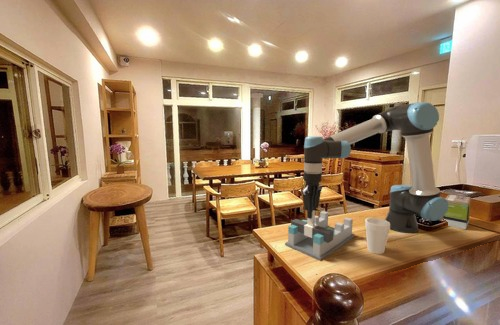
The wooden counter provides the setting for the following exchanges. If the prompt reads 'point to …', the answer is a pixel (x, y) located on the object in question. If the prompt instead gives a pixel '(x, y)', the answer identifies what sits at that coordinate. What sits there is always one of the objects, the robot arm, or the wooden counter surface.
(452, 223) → the tea box
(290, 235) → the grey peg rack
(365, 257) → the wooden counter surface
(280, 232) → the wooden counter surface
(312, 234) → the grey banded pillar
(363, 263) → the wooden counter surface
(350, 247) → the wooden counter surface
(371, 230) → the foam cup
